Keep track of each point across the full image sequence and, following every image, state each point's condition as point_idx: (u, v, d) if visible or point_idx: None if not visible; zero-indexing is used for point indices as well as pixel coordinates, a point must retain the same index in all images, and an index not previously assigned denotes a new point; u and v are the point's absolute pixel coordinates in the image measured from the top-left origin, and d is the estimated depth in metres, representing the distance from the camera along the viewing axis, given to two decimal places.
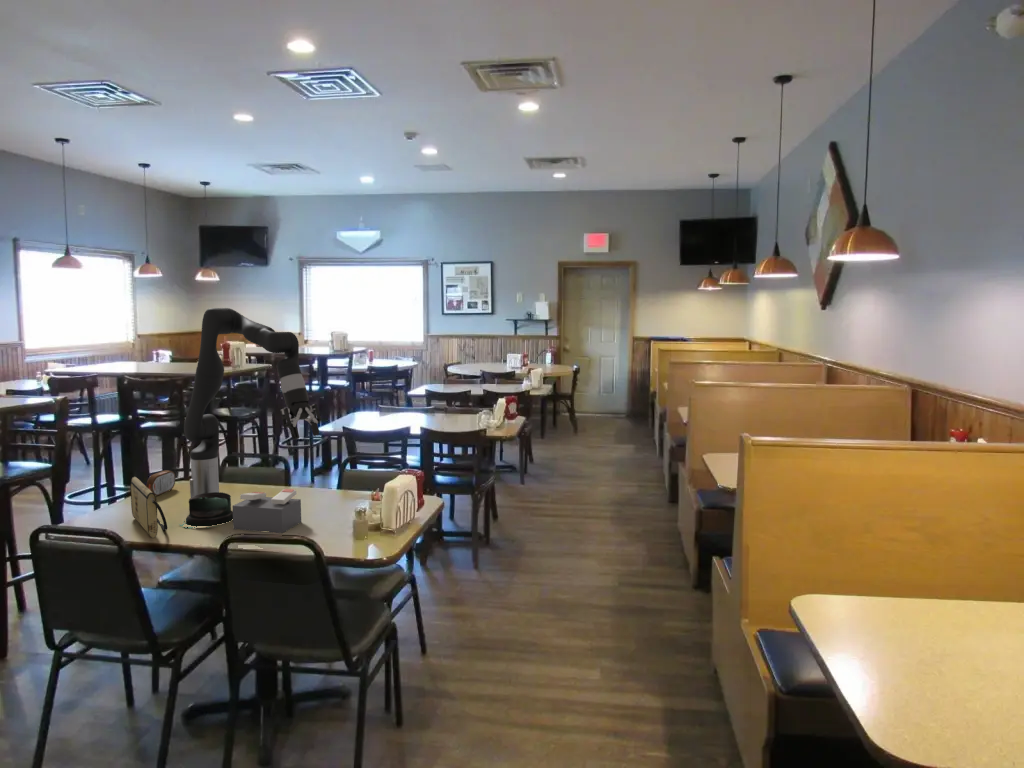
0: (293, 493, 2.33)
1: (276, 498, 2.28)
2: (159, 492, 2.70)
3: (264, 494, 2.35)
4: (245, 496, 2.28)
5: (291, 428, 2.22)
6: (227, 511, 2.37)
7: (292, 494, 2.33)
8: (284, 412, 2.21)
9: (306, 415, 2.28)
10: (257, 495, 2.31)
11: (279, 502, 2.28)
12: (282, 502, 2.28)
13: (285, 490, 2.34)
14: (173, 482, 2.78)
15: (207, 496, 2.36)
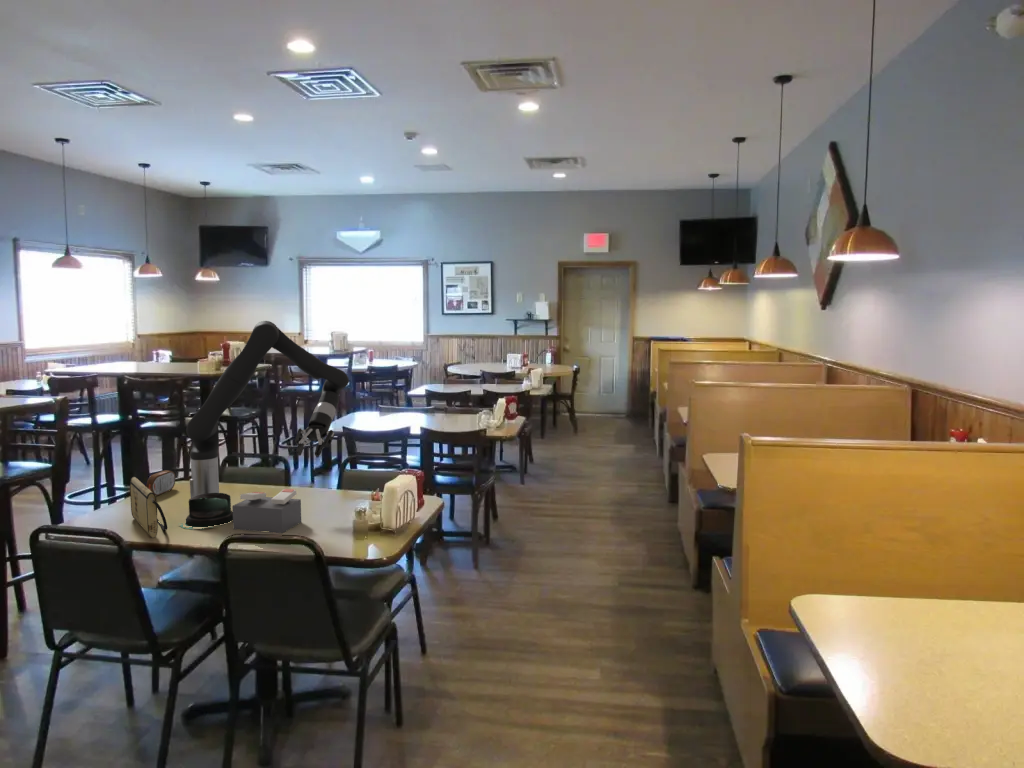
0: (293, 493, 2.33)
1: (276, 498, 2.28)
2: (159, 492, 2.70)
3: (264, 494, 2.35)
4: (245, 496, 2.28)
5: (322, 447, 2.47)
6: (227, 512, 2.37)
7: (292, 494, 2.33)
8: (333, 435, 2.51)
9: None
10: (257, 495, 2.31)
11: (279, 502, 2.28)
12: (282, 502, 2.28)
13: (285, 490, 2.34)
14: (173, 482, 2.78)
15: (207, 496, 2.35)
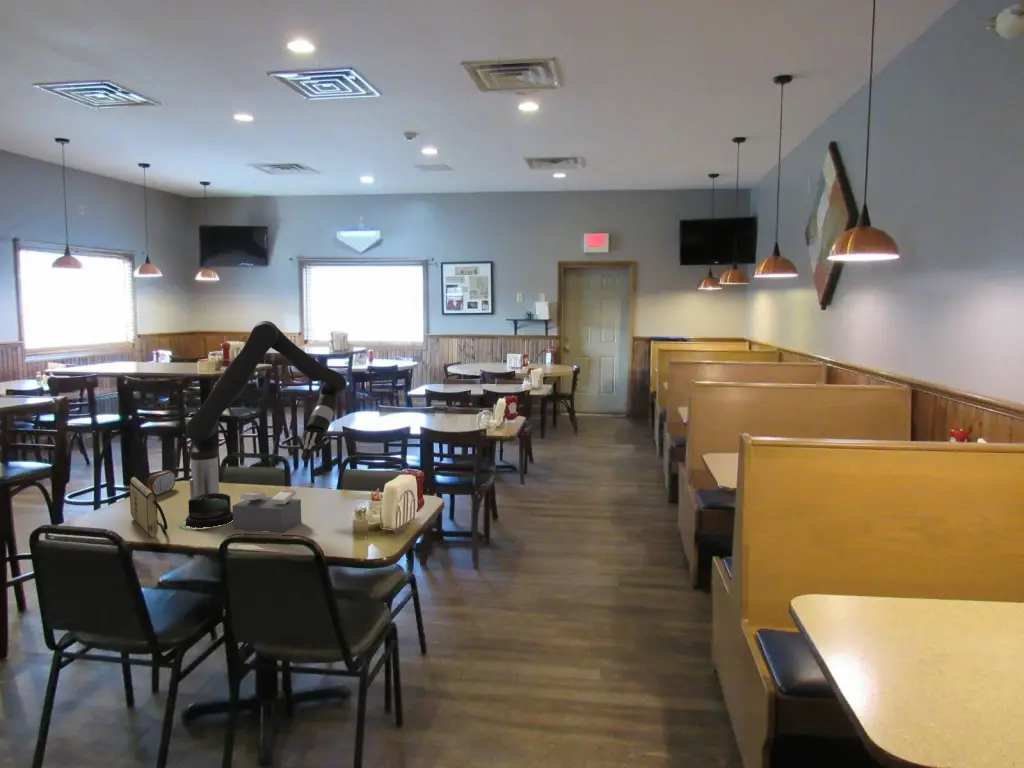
0: (293, 493, 2.33)
1: (276, 498, 2.28)
2: (159, 491, 2.70)
3: (264, 494, 2.35)
4: (245, 496, 2.28)
5: (311, 451, 2.46)
6: (227, 512, 2.36)
7: (292, 494, 2.33)
8: (326, 443, 2.48)
9: None
10: (257, 495, 2.31)
11: (279, 502, 2.28)
12: (282, 502, 2.28)
13: (285, 490, 2.34)
14: (173, 482, 2.78)
15: (207, 497, 2.35)
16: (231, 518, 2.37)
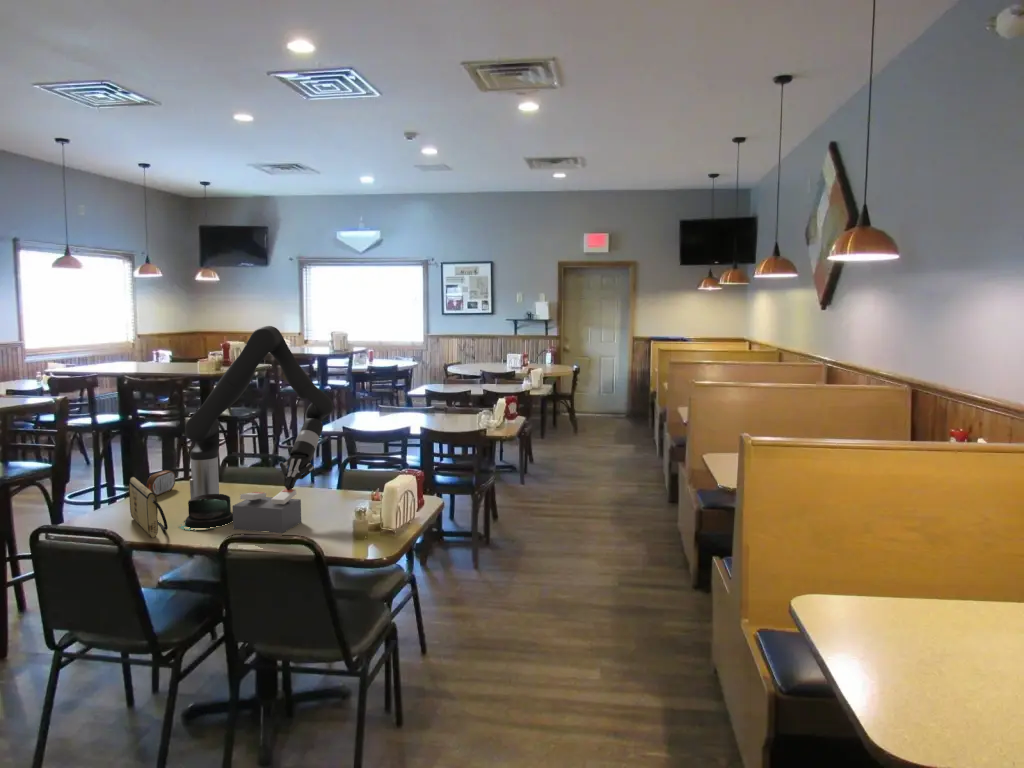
0: (293, 493, 2.33)
1: (276, 498, 2.28)
2: (159, 491, 2.70)
3: (264, 494, 2.35)
4: (245, 496, 2.28)
5: (295, 479, 2.36)
6: (227, 513, 2.35)
7: (292, 494, 2.33)
8: (311, 470, 2.38)
9: None
10: (257, 495, 2.31)
11: (279, 502, 2.28)
12: (282, 502, 2.28)
13: (285, 490, 2.34)
14: (173, 482, 2.78)
15: (206, 498, 2.34)
16: (231, 519, 2.36)
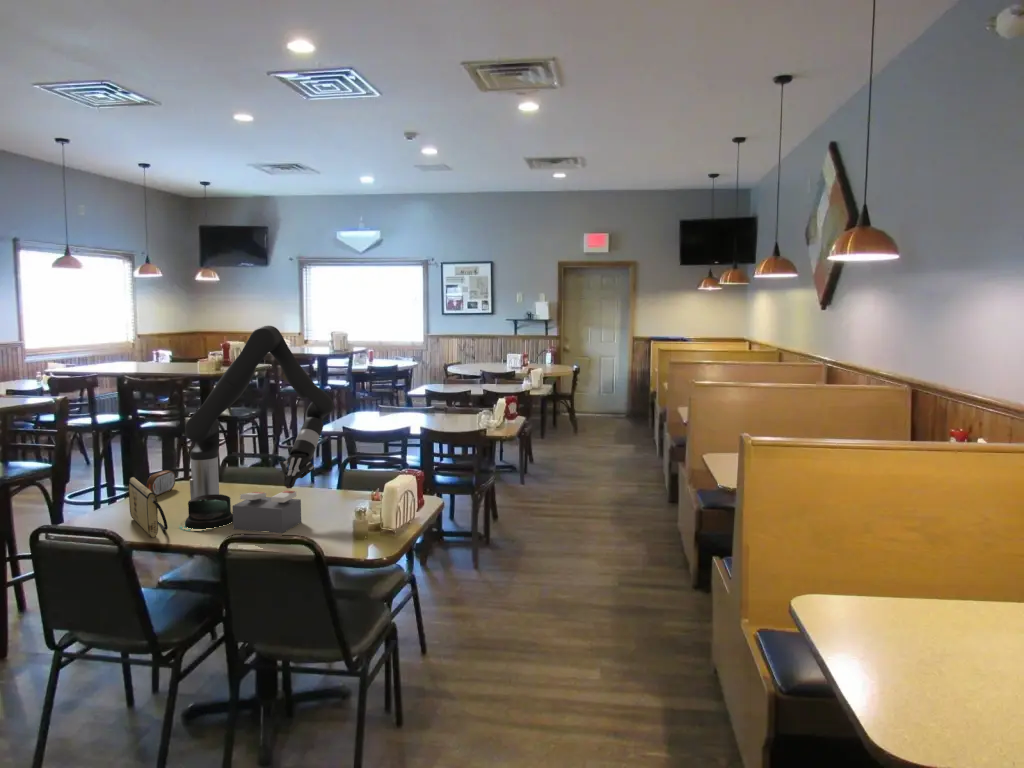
0: (293, 494, 2.34)
1: (276, 496, 2.28)
2: (159, 492, 2.70)
3: (264, 494, 2.35)
4: (245, 496, 2.28)
5: (295, 478, 2.36)
6: (227, 513, 2.35)
7: (292, 495, 2.33)
8: (311, 469, 2.38)
9: None
10: (257, 495, 2.31)
11: (279, 500, 2.28)
12: (282, 500, 2.28)
13: (285, 491, 2.34)
14: (173, 482, 2.78)
15: (206, 498, 2.33)
16: (231, 519, 2.36)
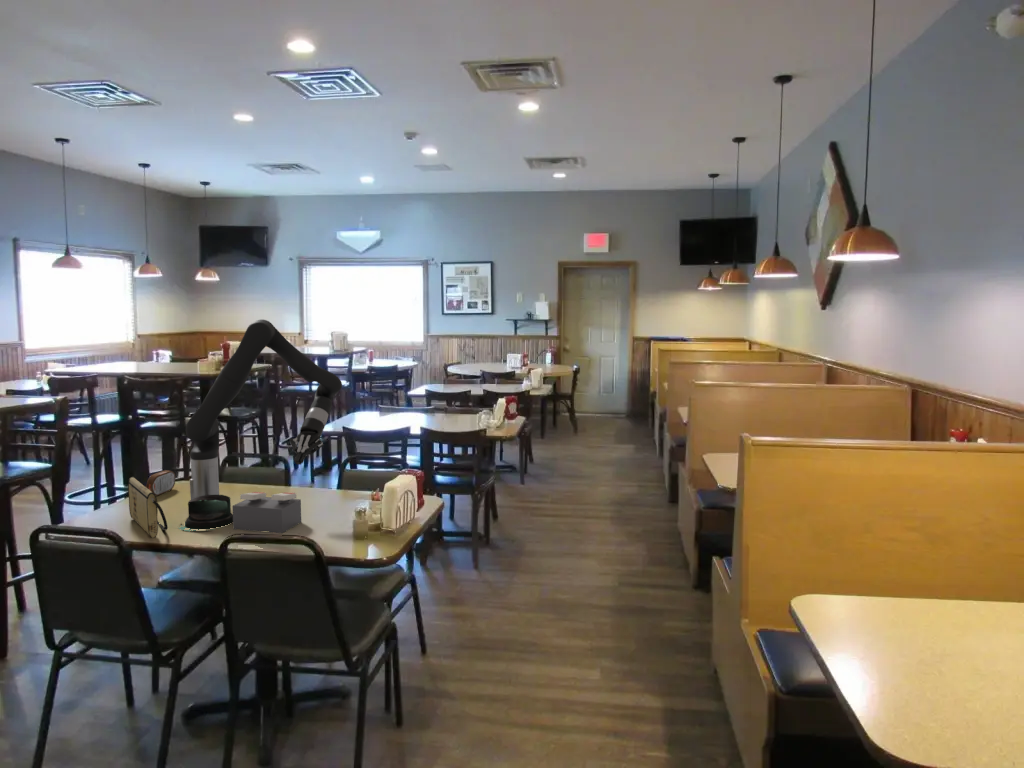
0: (293, 495, 2.34)
1: (276, 495, 2.28)
2: (159, 491, 2.70)
3: (264, 494, 2.35)
4: (245, 496, 2.28)
5: (305, 455, 2.42)
6: (227, 514, 2.34)
7: (292, 496, 2.33)
8: (320, 445, 2.44)
9: None
10: (257, 495, 2.31)
11: (279, 498, 2.28)
12: (282, 498, 2.28)
13: (286, 492, 2.35)
14: (173, 482, 2.78)
15: (206, 498, 2.33)
16: (231, 519, 2.35)
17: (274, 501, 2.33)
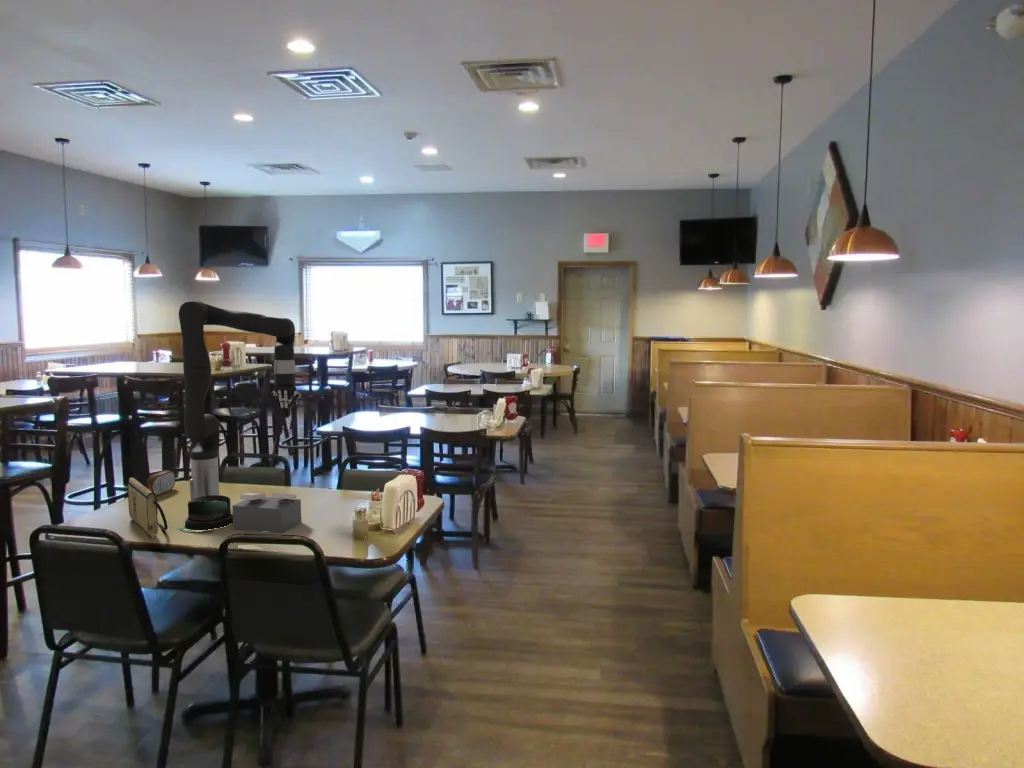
0: (293, 496, 2.34)
1: (277, 493, 2.29)
2: (159, 492, 2.70)
3: (264, 494, 2.35)
4: (245, 496, 2.28)
5: (289, 408, 2.59)
6: (227, 514, 2.34)
7: (292, 496, 2.33)
8: (299, 397, 2.58)
9: None
10: (257, 495, 2.31)
11: (279, 496, 2.28)
12: (282, 496, 2.28)
13: None
14: (173, 482, 2.78)
15: (206, 499, 2.32)
16: (231, 520, 2.35)
17: (274, 501, 2.33)
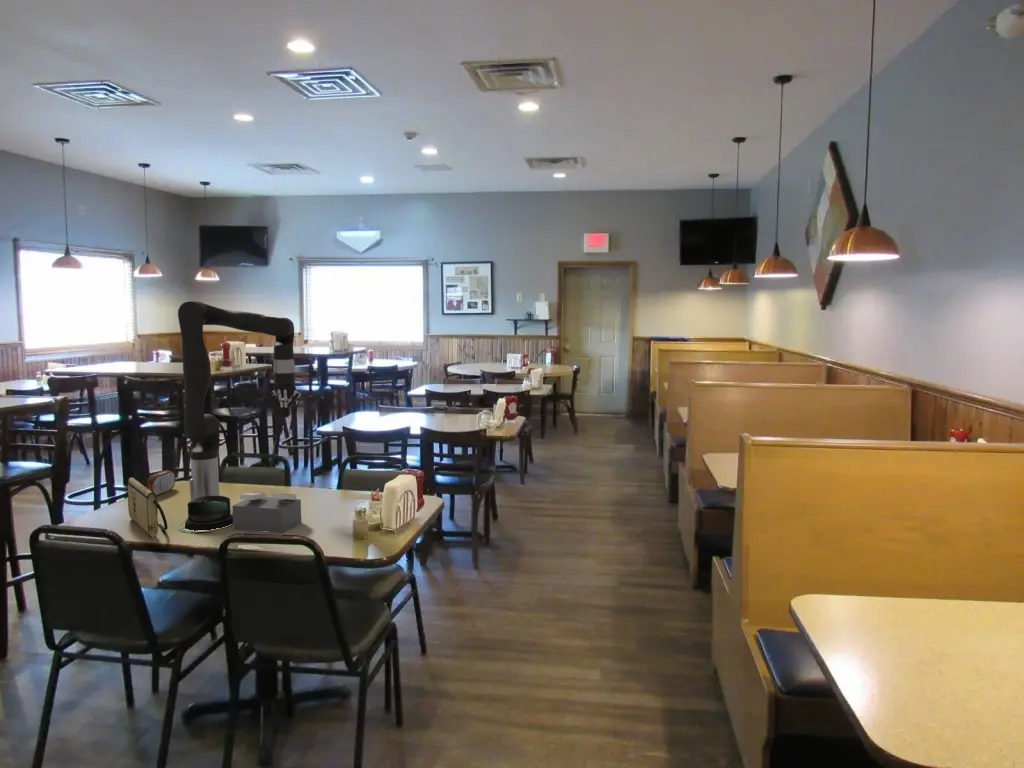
0: (293, 496, 2.34)
1: None
2: (159, 492, 2.70)
3: (264, 494, 2.35)
4: (245, 496, 2.28)
5: (289, 407, 2.59)
6: (227, 515, 2.33)
7: (292, 496, 2.33)
8: (299, 396, 2.58)
9: None
10: (257, 495, 2.31)
11: (279, 496, 2.28)
12: (282, 496, 2.28)
13: None
14: (173, 482, 2.78)
15: (206, 500, 2.32)
16: (231, 521, 2.34)
17: (274, 501, 2.33)
